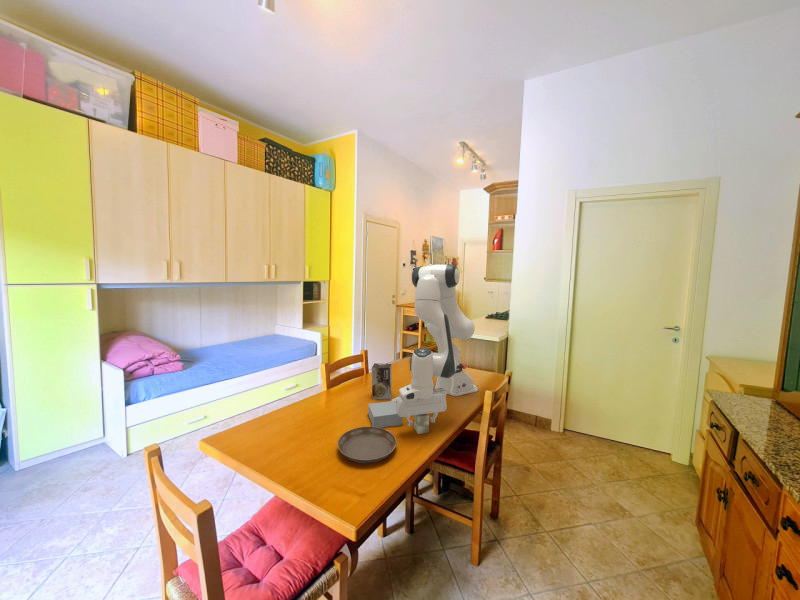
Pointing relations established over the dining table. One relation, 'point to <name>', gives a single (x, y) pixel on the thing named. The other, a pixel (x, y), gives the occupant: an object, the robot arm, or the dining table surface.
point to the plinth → (384, 414)
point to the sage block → (421, 423)
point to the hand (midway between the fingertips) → (421, 423)
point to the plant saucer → (367, 444)
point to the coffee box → (381, 381)
